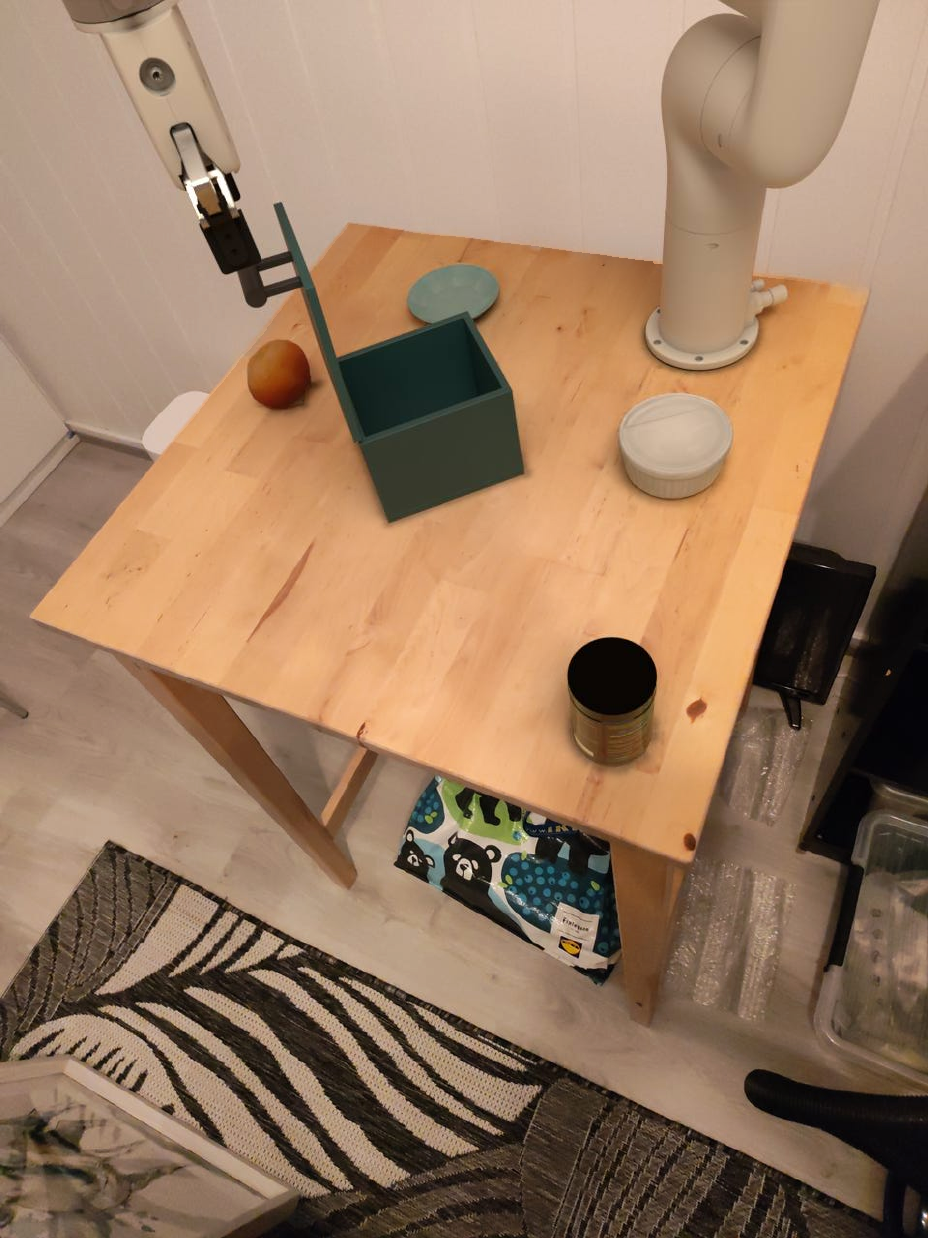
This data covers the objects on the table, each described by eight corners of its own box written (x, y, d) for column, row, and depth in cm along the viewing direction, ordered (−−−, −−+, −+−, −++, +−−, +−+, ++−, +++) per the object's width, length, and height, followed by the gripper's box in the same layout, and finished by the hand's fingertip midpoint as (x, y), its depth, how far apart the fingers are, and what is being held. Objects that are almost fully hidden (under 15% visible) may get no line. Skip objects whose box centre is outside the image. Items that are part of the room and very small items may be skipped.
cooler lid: (281, 201, 69) (219, 219, 69) (314, 286, 62) (245, 307, 61) (330, 355, 83) (278, 371, 83) (362, 440, 76) (305, 459, 75)
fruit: (318, 409, 95) (265, 363, 90) (278, 432, 100) (226, 390, 95) (337, 363, 99) (287, 316, 94) (297, 387, 104) (249, 344, 99)
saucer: (510, 280, 105) (508, 264, 103) (487, 340, 99) (484, 325, 97) (426, 277, 108) (422, 262, 106) (399, 335, 102) (395, 320, 100)
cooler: (483, 395, 94) (467, 310, 84) (524, 473, 86) (512, 389, 77) (358, 440, 93) (327, 360, 83) (388, 523, 86) (359, 445, 76)
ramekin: (665, 413, 88) (667, 375, 83) (750, 460, 82) (758, 423, 78) (595, 473, 85) (594, 437, 80) (679, 526, 79) (683, 491, 75)
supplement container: (669, 731, 68) (676, 673, 60) (614, 784, 66) (614, 733, 58) (610, 682, 72) (609, 621, 63) (556, 732, 70) (548, 676, 61)
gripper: (194, 6, 45) (298, 276, 59) (161, -84, 54) (258, 168, 68) (66, 51, 44) (202, 311, 59) (55, -47, 54) (175, 197, 68)
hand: (232, 234), depth 64 cm, fingers open, 9 cm apart
